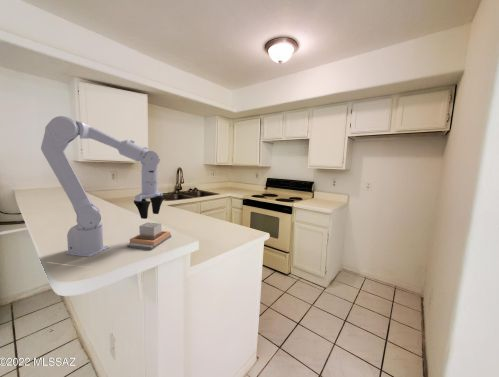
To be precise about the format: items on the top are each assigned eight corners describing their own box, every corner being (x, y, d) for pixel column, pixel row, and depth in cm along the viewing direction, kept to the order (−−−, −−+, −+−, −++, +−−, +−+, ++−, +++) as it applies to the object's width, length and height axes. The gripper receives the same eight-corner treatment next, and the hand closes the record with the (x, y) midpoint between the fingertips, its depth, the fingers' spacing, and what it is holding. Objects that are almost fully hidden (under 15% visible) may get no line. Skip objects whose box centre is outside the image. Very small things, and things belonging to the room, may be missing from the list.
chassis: (127, 247, 76) (127, 240, 75) (150, 234, 89) (150, 228, 89) (151, 249, 74) (151, 242, 74) (171, 236, 88) (171, 230, 88)
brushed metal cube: (139, 241, 80) (139, 226, 79) (147, 236, 85) (147, 222, 84) (154, 242, 79) (153, 227, 78) (161, 238, 84) (161, 223, 83)
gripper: (147, 184, 73) (148, 221, 74) (169, 181, 87) (169, 212, 89) (129, 183, 74) (130, 220, 75) (153, 180, 88) (154, 211, 90)
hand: (150, 216), depth 82 cm, fingers open, 7 cm apart
